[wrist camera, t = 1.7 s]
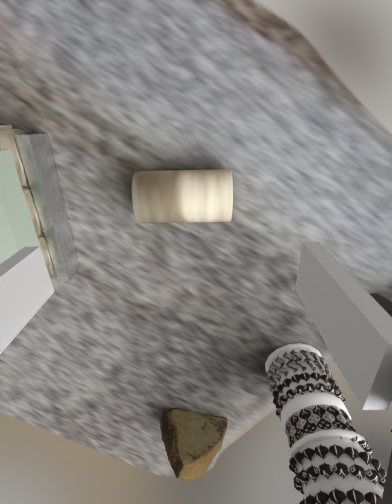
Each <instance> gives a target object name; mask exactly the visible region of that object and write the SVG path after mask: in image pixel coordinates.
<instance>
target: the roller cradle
mask: <svg viewBox="0 0 392 504" xmlns="http://www.w3.org/2000/svg"><path fill="white" fill-rule="evenodd" d="M0 129H12V126H11V125H0Z"/></svg>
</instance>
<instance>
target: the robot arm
mask: <svg viewBox="0 0 392 504" xmlns="http://www.w3.org/2000/svg"><path fill="white" fill-rule="evenodd" d="M295 290H296V292H297V293H298V295H299V297H300V299H301V301H302V302H303V304H304V306H305V308H306V310H307V311H308V313H309V315H310V317H311V319H312V320H313V322H314V324H315V326H316V328H317V329H318V331H319V333H320V335H321V336H322V338H323V340H324V342H325V344H326V345H327V347H328V349H329V351H330V353H331V354H332V356H333V358H334V360H335V362H336V363H337V365H338V367H339V369H340V370H341V372H342V374H343V376H344V378H345V379H346V381H347V383H348V385H349V387H350V388H351V390H352V392H353V394H354V396H355V397H356V399H357V401H358V403H359V404H360V406H361V408H362V409H363V410H388V407H389V405H390V403H391V401H392V302H391V301H389V300H387V299H386V298H384V297H382V296H380V295H379V294H369V293H368V292H367V291H366V290H365V289H364V288H363V287H362V286H361V285H360V284H359V283H358V282H357V281H356V280H355V279H354V278H353V277H352V276H351V275H350V274H349V273H348V272H347V271H346V270H345V269H344V268H343V266H342V265H341V264H340V263H339V262H338V261H337V260H336V259H335V258H334V257H333V256H332V255H331V254H330V253H329V252H328V251H327V250H326V249H325V248H324V247H323V246H322V245H321V244H320V243H319V242H303V245H302V251H301V257H300V263H299V269H298V275H297V281H296V287H295ZM53 292H54V290H53V287H52V284H51V281H50V278H49V274H48V271H47V268H46V265H45V262H44V259H43V255H42V252H41V249H40V246H37V247H24V248H22V249H21V250H19V251H18V252H17V253H15V254H14V255H12V256H11V257H10V258H8V259H7V260H5V261H4V262H3V263H1V264H0V354H1V353H2V352H3V351H4V349H5V348H6V347H7V346H8V345H9V344H10V342H11V341H12V340H13V339H14V338H15V337H16V335H17V334H18V333H19V332H20V331H21V330H22V328H23V327H24V326H25V325H26V324H27V323H28V322H29V320H30V319H31V318H32V317H33V316H34V315H35V313H36V312H37V311H38V310H39V309H40V308H41V306H42V305H43V304H44V303H45V302H46V301H47V299H48V298H49V297H50V296H51V295H52V294H53ZM391 432H392V430H391ZM381 504H392V451H391V456H390V462H389V466H388V471H387V476H386V481H385V486H384V491H383V496H382V501H381Z"/></svg>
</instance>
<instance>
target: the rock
mask: <svg viewBox="0 0 392 504" xmlns="http://www.w3.org/2000/svg"><path fill="white" fill-rule="evenodd" d="M160 429H161V435H162V441H163V442H164V445H165V450H166V452H167V456H168V460H169V462H170V464H171V467H172V469H173V470H174V473H175V476H176V477H177V478H182V480H183V481H186V482H192V481H194V480H197V479H198V478H202V477H203V476H204V474H205V472H206V470H207V468H208V467H209V465H210V464H211V462H212V460H213V458H214V457H215V455H216V454H217V453H218V452H219V451H220V449H221V447H222V442H223V438H224V435H225V432H226V429H227V419H225V418H221V417H215V416H211V415H204V414H199V413H197V412H192V411H182V410H179V409H173V410H171V411H169V412H167V413H166V414H164V415H163V416H162V418H161V419H160Z"/></svg>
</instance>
